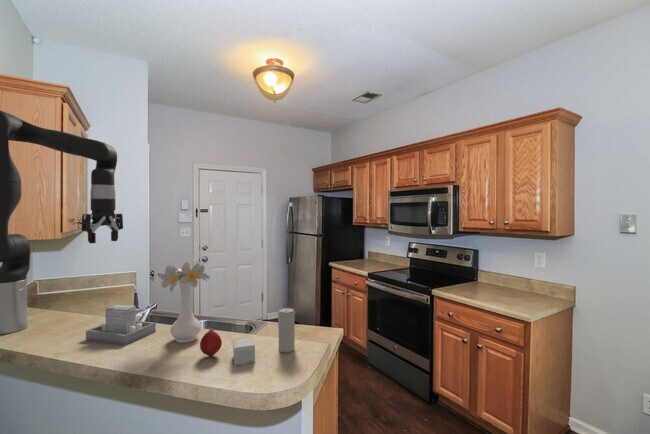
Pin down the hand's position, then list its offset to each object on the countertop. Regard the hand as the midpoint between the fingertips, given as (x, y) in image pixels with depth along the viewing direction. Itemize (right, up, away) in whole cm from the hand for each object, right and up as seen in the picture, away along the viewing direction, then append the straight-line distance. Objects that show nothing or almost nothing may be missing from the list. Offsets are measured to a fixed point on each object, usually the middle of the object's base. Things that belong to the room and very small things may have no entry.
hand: (103, 242), depth 118 cm
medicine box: (+13, -30, -11) cm, 34 cm away
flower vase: (+35, -31, -14) cm, 49 cm away
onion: (+49, -31, -26) cm, 63 cm away
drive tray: (+13, -30, -11) cm, 35 cm away
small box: (+58, -31, -28) cm, 72 cm away
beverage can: (+70, -31, -22) cm, 79 cm away
